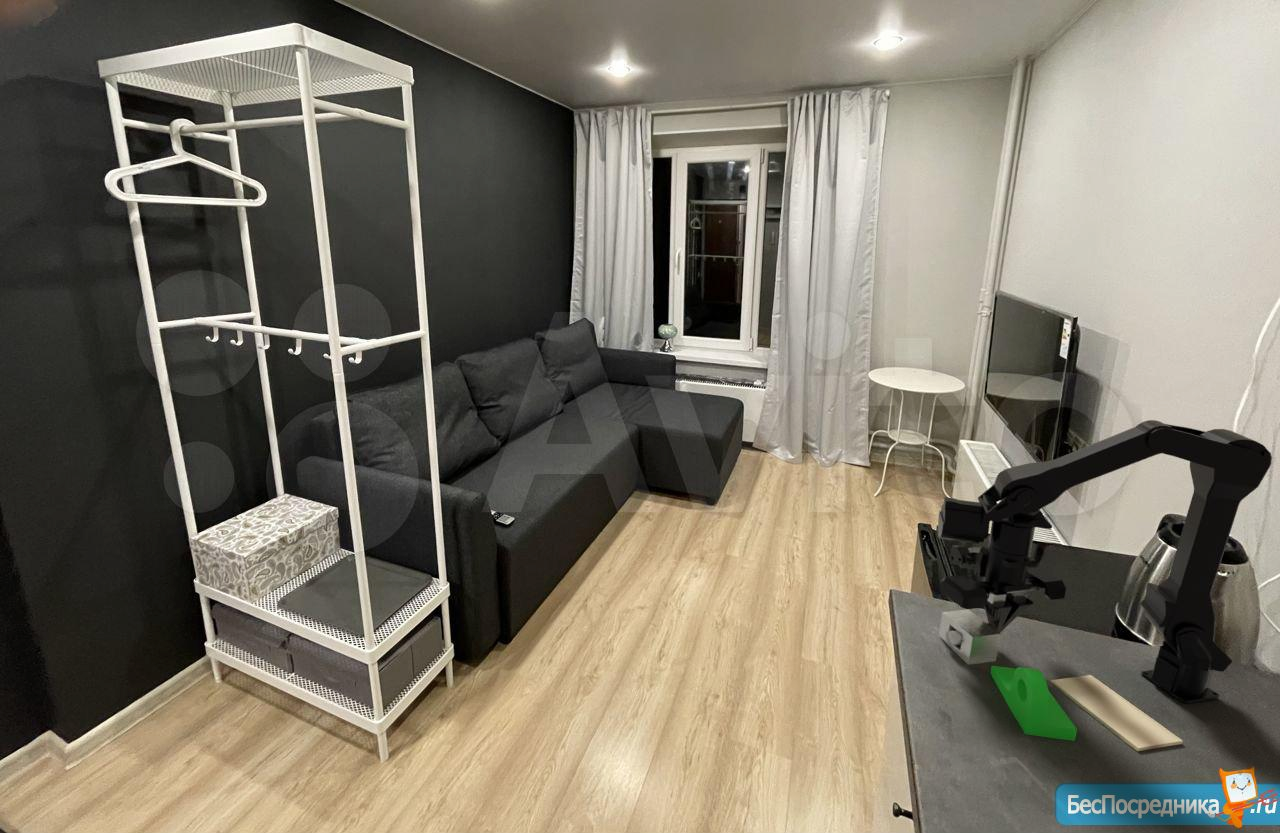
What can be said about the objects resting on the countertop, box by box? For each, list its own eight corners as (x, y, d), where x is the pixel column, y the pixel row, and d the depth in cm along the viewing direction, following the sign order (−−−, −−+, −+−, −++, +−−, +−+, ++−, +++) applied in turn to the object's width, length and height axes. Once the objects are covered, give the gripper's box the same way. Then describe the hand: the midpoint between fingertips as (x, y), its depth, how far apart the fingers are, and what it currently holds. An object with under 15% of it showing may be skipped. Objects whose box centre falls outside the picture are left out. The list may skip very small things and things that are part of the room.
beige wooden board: (1090, 677, 89) (1090, 674, 89) (1182, 743, 76) (1182, 740, 76) (1050, 683, 88) (1050, 680, 88) (1137, 751, 75) (1138, 748, 75)
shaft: (979, 636, 97) (982, 617, 96) (995, 649, 94) (998, 630, 93) (941, 641, 96) (944, 622, 95) (956, 654, 92) (959, 635, 92)
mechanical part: (1074, 742, 77) (1085, 690, 75) (1025, 735, 78) (1035, 684, 76) (1032, 681, 88) (1040, 636, 86) (989, 676, 89) (997, 631, 88)
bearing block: (963, 637, 99) (968, 609, 97) (995, 663, 92) (1000, 633, 91) (938, 640, 98) (942, 612, 97) (967, 667, 91) (972, 637, 90)
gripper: (1019, 522, 101) (1005, 601, 105) (924, 530, 98) (913, 611, 101) (1076, 551, 90) (1059, 638, 94) (971, 561, 87) (958, 650, 91)
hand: (994, 632), depth 95 cm, fingers closed
